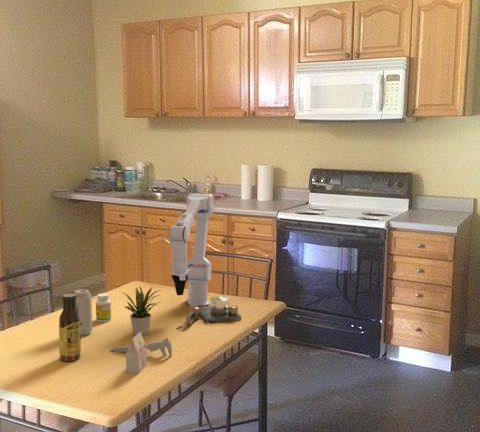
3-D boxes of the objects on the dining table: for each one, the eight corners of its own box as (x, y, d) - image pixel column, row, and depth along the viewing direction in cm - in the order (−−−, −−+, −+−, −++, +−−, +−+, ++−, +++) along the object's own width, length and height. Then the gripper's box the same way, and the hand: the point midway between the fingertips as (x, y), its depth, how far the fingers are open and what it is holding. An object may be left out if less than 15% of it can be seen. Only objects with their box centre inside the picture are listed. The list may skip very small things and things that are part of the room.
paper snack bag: (126, 373, 166) (125, 339, 165) (135, 363, 173) (134, 331, 171) (138, 374, 165) (137, 340, 164) (146, 364, 172) (146, 332, 170)
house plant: (173, 332, 199) (172, 286, 196) (141, 343, 189) (140, 295, 186) (147, 323, 208) (146, 279, 206) (115, 333, 198) (114, 286, 196)
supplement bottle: (112, 321, 210) (111, 295, 209) (97, 323, 208) (96, 297, 207) (109, 317, 215) (109, 292, 214) (95, 318, 213) (94, 293, 211)
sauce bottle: (69, 364, 172) (66, 299, 169) (55, 359, 175) (52, 296, 172) (86, 356, 178) (83, 294, 175) (72, 352, 181) (69, 291, 178)
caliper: (172, 356, 179) (171, 337, 178) (170, 358, 178) (170, 338, 177) (111, 351, 183) (110, 332, 182) (109, 352, 182) (108, 333, 181)
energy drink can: (70, 333, 198) (69, 291, 195) (86, 329, 202) (84, 287, 200) (80, 337, 194) (78, 294, 191) (95, 333, 198) (94, 290, 196)
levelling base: (167, 314, 218) (166, 296, 217) (229, 308, 226) (229, 291, 225) (176, 329, 202) (176, 310, 201) (243, 321, 210) (243, 303, 209)
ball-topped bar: (191, 316, 215) (191, 305, 215) (200, 316, 214) (200, 306, 214) (183, 325, 205) (183, 315, 204) (193, 326, 204) (193, 315, 203)
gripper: (193, 262, 203) (194, 299, 205) (186, 253, 217) (187, 288, 219) (173, 263, 201) (174, 301, 203) (168, 254, 215) (168, 289, 217)
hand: (179, 294), depth 211 cm, fingers closed
